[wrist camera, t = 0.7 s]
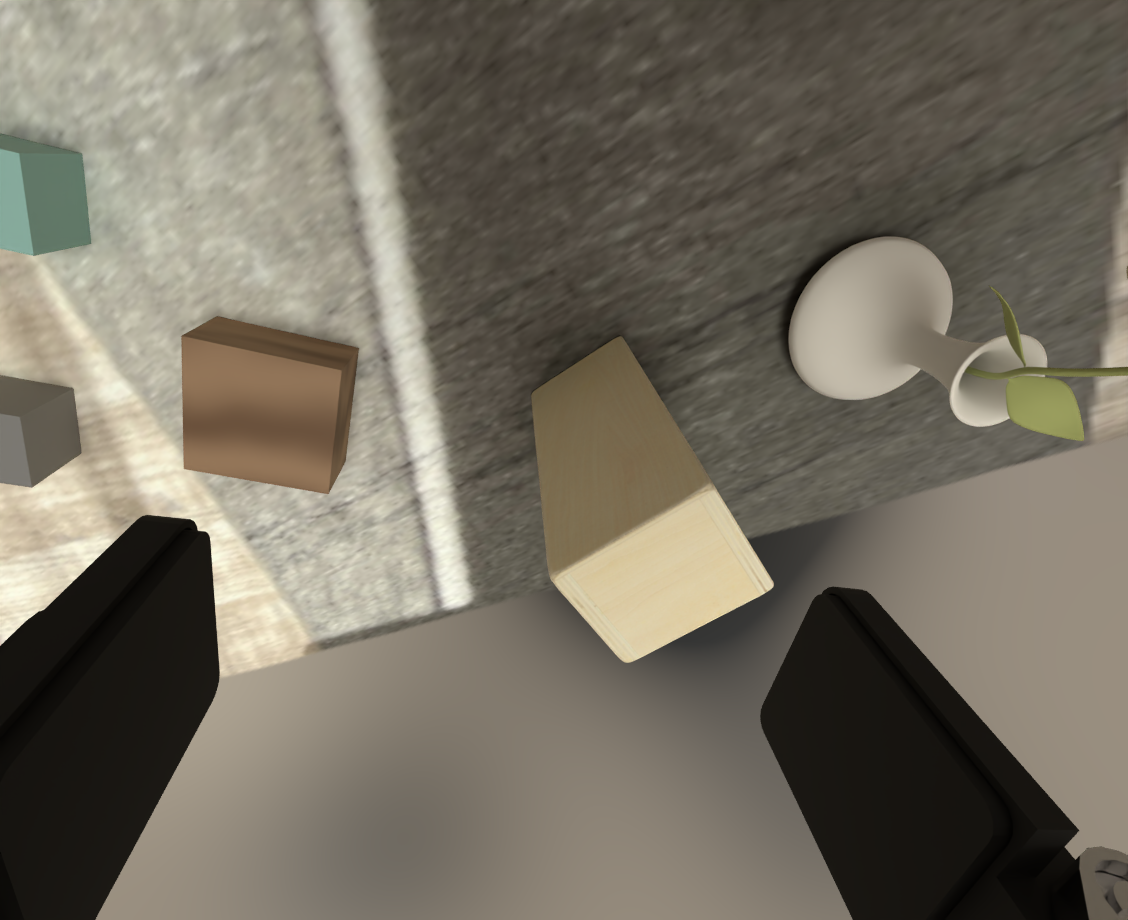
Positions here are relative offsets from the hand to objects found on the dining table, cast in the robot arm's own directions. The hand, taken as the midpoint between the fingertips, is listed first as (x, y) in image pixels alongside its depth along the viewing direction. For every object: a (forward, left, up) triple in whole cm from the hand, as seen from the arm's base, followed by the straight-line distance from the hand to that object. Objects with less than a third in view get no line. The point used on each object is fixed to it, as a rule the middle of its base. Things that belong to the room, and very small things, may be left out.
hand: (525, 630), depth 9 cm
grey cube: (+17, -30, -33) cm, 47 cm away
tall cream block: (+8, +8, -33) cm, 35 cm away
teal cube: (+2, -27, -33) cm, 43 cm away
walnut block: (+12, -14, -33) cm, 38 cm away
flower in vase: (-3, +24, -33) cm, 41 cm away
